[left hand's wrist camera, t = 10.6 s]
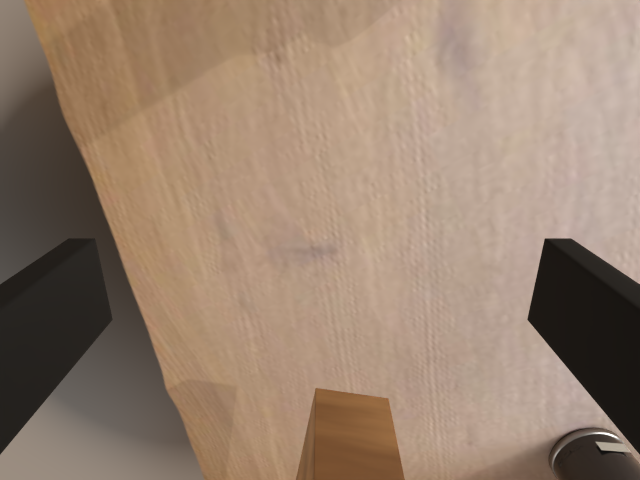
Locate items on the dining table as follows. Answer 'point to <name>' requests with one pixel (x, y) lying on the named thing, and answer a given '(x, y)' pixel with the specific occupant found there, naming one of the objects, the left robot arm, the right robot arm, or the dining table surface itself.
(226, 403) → the dining table surface
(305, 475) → the box
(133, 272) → the dining table surface
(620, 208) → the dining table surface
